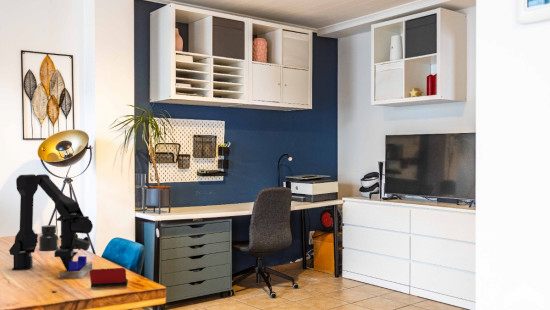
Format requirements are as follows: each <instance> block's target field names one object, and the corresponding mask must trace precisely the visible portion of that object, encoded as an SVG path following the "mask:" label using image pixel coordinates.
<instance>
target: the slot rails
mask: <svg viewBox="0 0 550 310" xmlns="http://www.w3.org/2000/svg"><path fill="white" fill-rule="evenodd" d="M92 269H93V262H87V261H86V265H85V266H84V267H83V268H82V269H81V270H80V271H67V270H66V271H59V275H58V276H59V280H68V279H69V280H70V279H71V280H72V279H73V280H74V279H83V278H85V276H86V275H87V274H88V273H90V270H92Z"/></svg>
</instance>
